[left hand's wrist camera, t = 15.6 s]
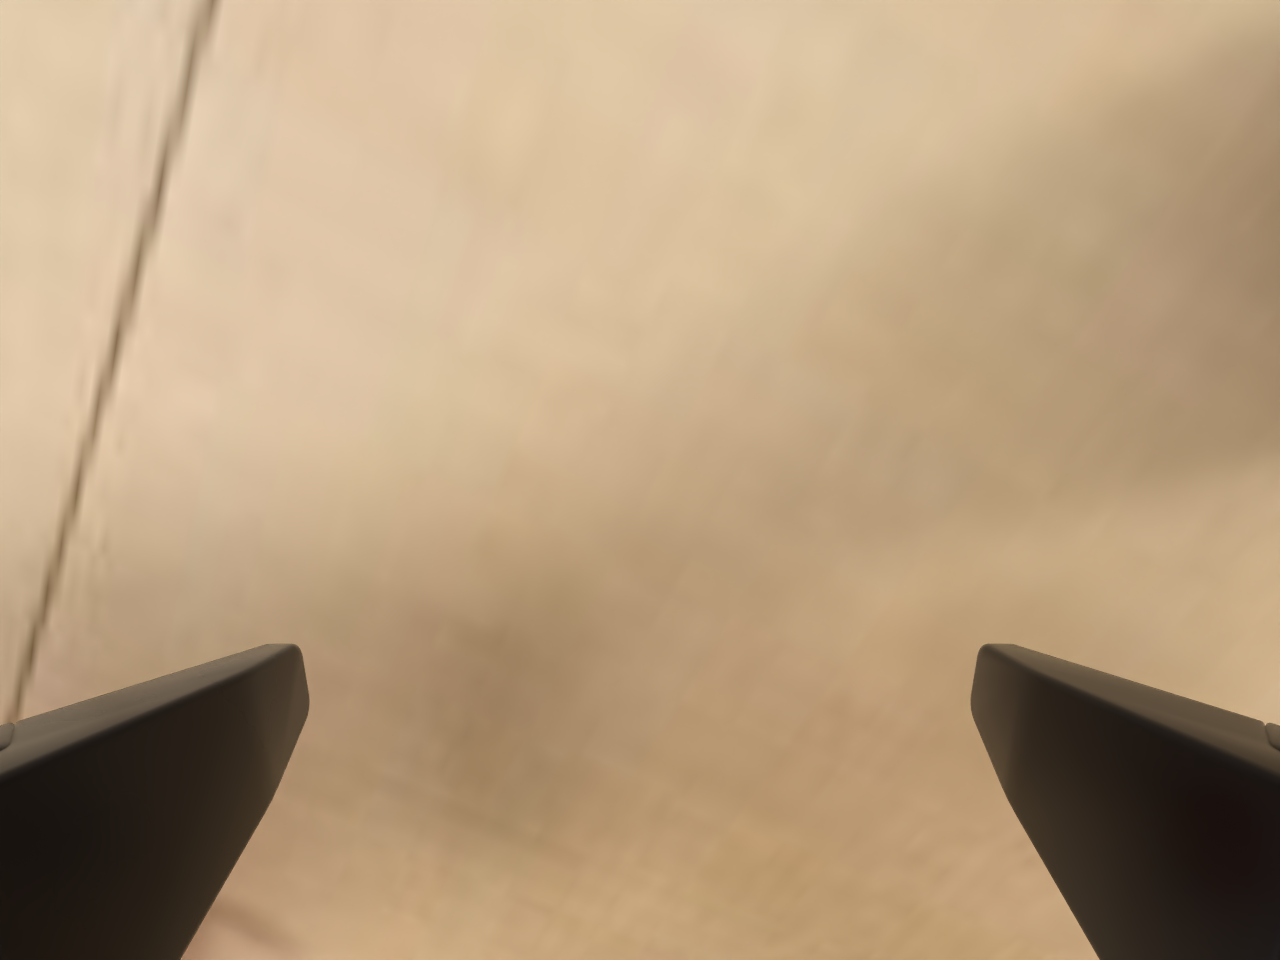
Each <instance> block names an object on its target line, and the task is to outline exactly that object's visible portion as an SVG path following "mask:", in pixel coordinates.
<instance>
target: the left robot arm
mask: <svg viewBox="0 0 1280 960" xmlns="http://www.w3.org/2000/svg"><path fill="white" fill-rule="evenodd" d="M308 711H309V693H308V687H307V680H306V674H305V668H304V662H303V656H302V653H301V650H300V648H299V647H298V646H297V645H295V644H266V645H263V646H259V647H256V648H253V649H250V650H247V651H243V652H240V653H237V654H234V655H230V656H227V657H224V658H221V659H218V660H214V661H211V662H208V663H205V664H201V665H198V666H195V667H192V668H188V669H185V670H182V671H179V672H176V673H172V674H169V675H166V676H163V677H159V678H156V679H153V680H150V681H147V682H143V683H140V684H137V685H134V686H130V687H127V688H124V689H121V690H117V691H114V692H111V693H108V694H105V695H101V696H98V697H95V698H92V699H88V700H85V701H82V702H79V703H76V704H72V705H69V706H66V707H63V708H59V709H56V710H53V711H50V712H46V713H43V714H40V715H37V716H34V717H30V718H27V719H24V720H21V721H18V722H17V723H16V725H15V726H14V724H13V723H7V724H4V725H1V726H0V960H180V959H181V957H182V956H183V954H184V952H185V951H186V949H187V947H188V945H189V944H190V942H191V940H192V938H193V937H194V935H195V933H196V932H197V930H198V928H199V926H200V925H201V923H202V921H203V919H204V918H205V916H206V914H207V912H208V911H209V909H210V907H211V906H212V904H213V902H214V900H215V899H216V897H217V895H218V893H219V892H220V890H221V888H222V886H223V885H224V883H225V881H226V880H227V878H228V876H229V874H230V873H231V871H232V869H233V867H234V866H235V864H236V862H237V860H238V859H239V857H240V855H241V854H242V852H243V850H244V848H245V847H246V845H247V843H248V841H249V840H250V838H251V836H252V835H253V833H254V831H255V829H256V828H257V826H258V824H259V822H260V821H261V819H262V817H263V815H264V814H265V812H266V810H267V808H268V806H269V804H270V803H271V801H272V799H273V797H274V794H275V792H276V790H277V788H278V786H279V783H280V781H281V779H282V776H283V774H284V771H285V769H286V767H287V764H288V762H289V759H290V757H291V755H292V752H293V750H294V747H295V745H296V743H297V740H298V738H299V735H300V733H301V731H302V728H303V726H304V723H305V721H306V718H307V715H308ZM971 711H972V715H973V718H974V721H975V723H976V726H977V728H978V731H979V733H980V735H981V738H982V740H983V743H984V745H985V747H986V750H987V752H988V755H989V757H990V759H991V762H992V764H993V767H994V769H995V771H996V774H997V776H998V779H999V781H1000V783H1001V786H1002V788H1003V790H1004V792H1005V794H1006V797H1007V799H1008V801H1009V803H1010V804H1011V806H1012V808H1013V810H1014V812H1015V814H1016V815H1017V817H1018V819H1019V821H1020V822H1021V824H1022V826H1023V828H1024V829H1025V831H1026V833H1027V835H1028V836H1029V838H1030V840H1031V841H1032V843H1033V845H1034V847H1035V848H1036V850H1037V852H1038V854H1039V855H1040V857H1041V859H1042V861H1043V862H1044V864H1045V866H1046V867H1047V869H1048V871H1049V873H1050V874H1051V876H1052V878H1053V880H1054V881H1055V883H1056V885H1057V886H1058V888H1059V890H1060V892H1061V893H1062V895H1063V897H1064V899H1065V900H1066V902H1067V904H1068V906H1069V907H1070V909H1071V911H1072V912H1073V914H1074V916H1075V918H1076V919H1077V921H1078V923H1079V925H1080V926H1081V928H1082V930H1083V932H1084V933H1085V935H1086V937H1087V938H1088V940H1089V942H1090V944H1091V945H1092V947H1093V949H1094V951H1095V952H1096V954H1097V956H1098V958H1099V959H1100V960H1280V726H1279V725H1276V724H1273V723H1267V724H1266V726H1265V725H1264V723H1263V722H1262V721H1259V720H1256V719H1253V718H1250V717H1246V716H1243V715H1240V714H1237V713H1234V712H1230V711H1227V710H1224V709H1221V708H1217V707H1214V706H1211V705H1208V704H1204V703H1201V702H1198V701H1195V700H1192V699H1188V698H1185V697H1182V696H1179V695H1175V694H1172V693H1169V692H1166V691H1163V690H1159V689H1156V688H1153V687H1150V686H1146V685H1143V684H1140V683H1137V682H1133V681H1130V680H1127V679H1124V678H1121V677H1117V676H1114V675H1111V674H1108V673H1104V672H1101V671H1098V670H1095V669H1092V668H1088V667H1085V666H1082V665H1079V664H1075V663H1072V662H1069V661H1066V660H1062V659H1059V658H1056V657H1053V656H1050V655H1046V654H1043V653H1040V652H1037V651H1033V650H1030V649H1027V648H1024V647H1020V646H1017V645H1014V644H985V645H983V646H982V647H981V648H980V650H979V653H978V656H977V662H976V668H975V674H974V680H973V687H972V693H971Z"/></svg>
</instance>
